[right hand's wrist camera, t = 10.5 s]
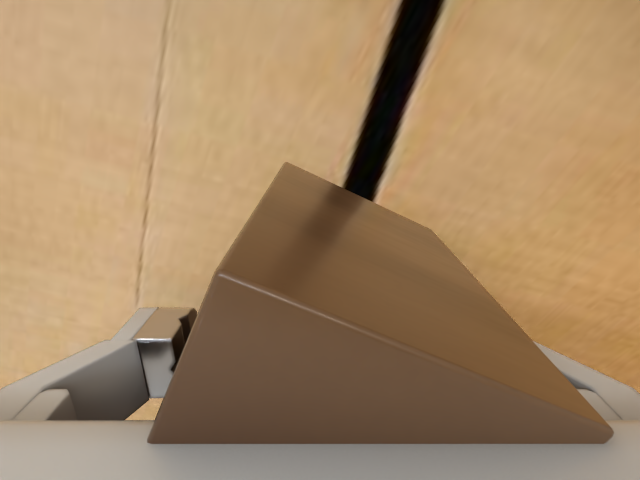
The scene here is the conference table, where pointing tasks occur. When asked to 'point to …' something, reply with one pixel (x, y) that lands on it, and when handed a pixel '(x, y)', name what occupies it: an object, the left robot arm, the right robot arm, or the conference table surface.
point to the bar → (358, 339)
